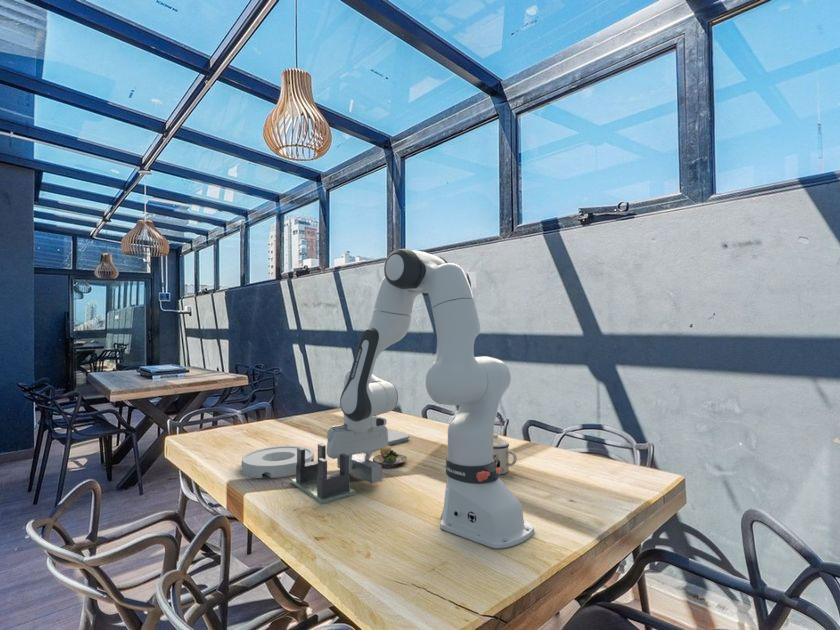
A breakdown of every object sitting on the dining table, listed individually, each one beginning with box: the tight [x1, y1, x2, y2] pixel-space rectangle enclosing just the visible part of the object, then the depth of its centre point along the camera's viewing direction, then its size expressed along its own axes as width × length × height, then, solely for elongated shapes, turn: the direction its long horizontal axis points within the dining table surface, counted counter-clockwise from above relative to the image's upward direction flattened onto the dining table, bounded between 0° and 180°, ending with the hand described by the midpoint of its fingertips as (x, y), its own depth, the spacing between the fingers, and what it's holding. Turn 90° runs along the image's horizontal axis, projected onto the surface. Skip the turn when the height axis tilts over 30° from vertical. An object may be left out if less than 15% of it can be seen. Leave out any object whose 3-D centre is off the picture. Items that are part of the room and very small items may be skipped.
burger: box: [372, 445, 408, 469], centre depth 147 cm, size 12×12×8 cm
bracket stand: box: [290, 443, 356, 504], centre depth 124 cm, size 20×10×10 cm, turn 39°
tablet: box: [387, 429, 411, 446], centre depth 173 cm, size 16×26×2 cm, turn 136°
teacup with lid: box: [493, 433, 517, 475], centre depth 138 cm, size 12×9×12 cm
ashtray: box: [241, 445, 315, 479], centre depth 144 cm, size 23×23×4 cm
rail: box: [336, 454, 383, 484], centre depth 131 cm, size 20×4×4 cm, turn 40°
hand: (358, 467), depth 131 cm, fingers closed on rail, 3 cm apart
